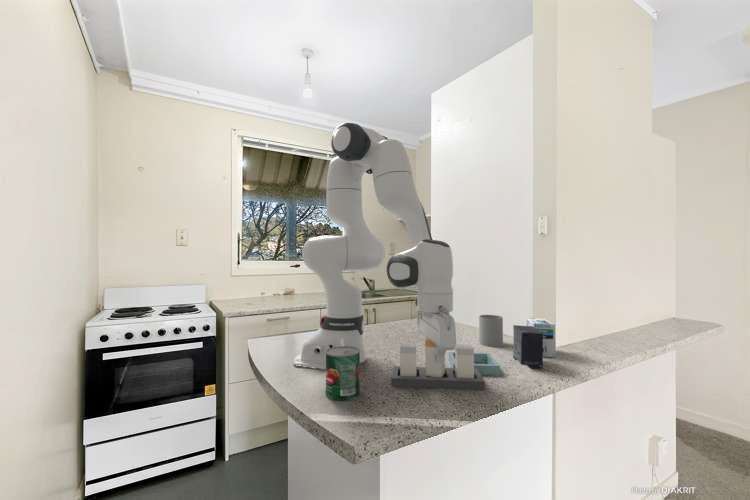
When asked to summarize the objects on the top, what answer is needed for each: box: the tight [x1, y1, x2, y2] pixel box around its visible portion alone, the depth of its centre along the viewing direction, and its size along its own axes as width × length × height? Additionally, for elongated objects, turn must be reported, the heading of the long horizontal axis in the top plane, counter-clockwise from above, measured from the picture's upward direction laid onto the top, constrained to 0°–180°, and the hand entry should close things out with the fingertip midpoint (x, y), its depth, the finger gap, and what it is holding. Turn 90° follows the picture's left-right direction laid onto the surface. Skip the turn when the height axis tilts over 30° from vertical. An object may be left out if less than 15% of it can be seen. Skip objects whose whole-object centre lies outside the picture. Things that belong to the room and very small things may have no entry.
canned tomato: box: [325, 346, 361, 402], centre depth 79 cm, size 8×8×11 cm
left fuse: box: [399, 342, 417, 376], centre depth 88 cm, size 4×4×9 cm
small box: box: [512, 324, 544, 370], centre depth 105 cm, size 11×6×10 cm, turn 171°
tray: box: [448, 351, 501, 376], centre depth 98 cm, size 12×12×4 cm
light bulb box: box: [526, 317, 557, 358], centre depth 116 cm, size 11×7×11 cm, turn 168°
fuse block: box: [391, 365, 486, 391], centre depth 87 cm, size 22×9×3 cm, turn 84°
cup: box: [478, 314, 504, 348], centre depth 127 cm, size 8×8×10 cm
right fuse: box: [454, 343, 475, 378], centre depth 86 cm, size 4×4×9 cm
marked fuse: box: [424, 338, 446, 377], centre depth 87 cm, size 4×4×9 cm
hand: (435, 357), depth 87 cm, fingers closed on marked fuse, 6 cm apart
